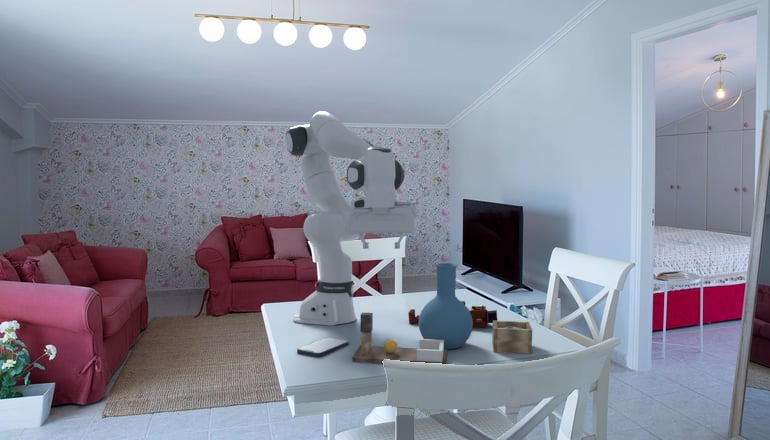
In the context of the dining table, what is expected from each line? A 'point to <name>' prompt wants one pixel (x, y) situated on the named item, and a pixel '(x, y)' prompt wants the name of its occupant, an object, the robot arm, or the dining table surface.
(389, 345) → the ball
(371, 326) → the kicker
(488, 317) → the toy
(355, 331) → the dining table surface
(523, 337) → the box
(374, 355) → the board
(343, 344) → the phone case
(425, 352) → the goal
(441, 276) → the vase
